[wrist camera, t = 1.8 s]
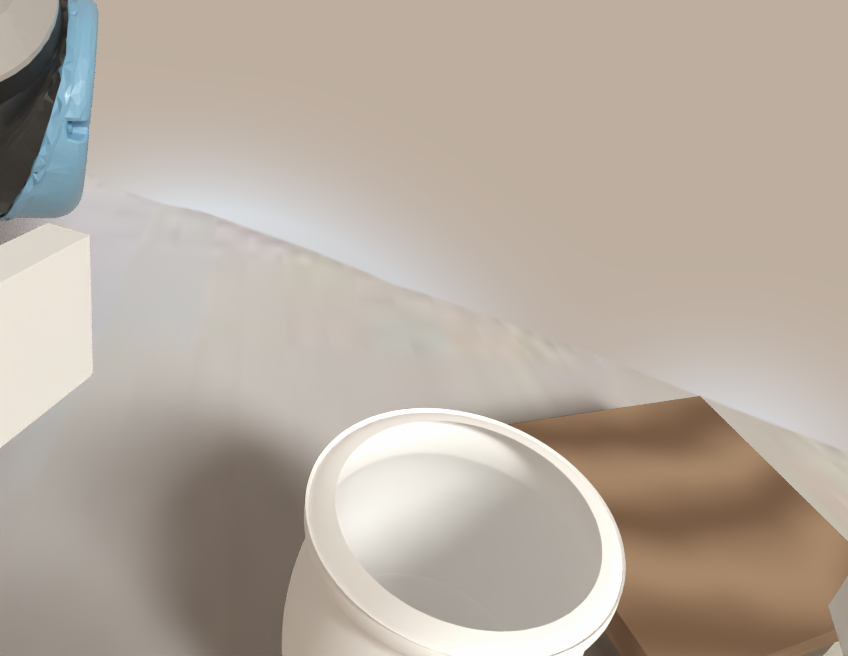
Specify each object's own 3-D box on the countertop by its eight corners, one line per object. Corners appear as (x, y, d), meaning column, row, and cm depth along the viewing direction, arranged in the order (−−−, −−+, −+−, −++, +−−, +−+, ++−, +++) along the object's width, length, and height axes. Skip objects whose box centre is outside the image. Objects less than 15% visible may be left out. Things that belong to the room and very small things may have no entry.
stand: (464, 500, 46) (490, 426, 42) (664, 461, 53) (699, 396, 49) (619, 764, 34) (671, 691, 31) (847, 669, 41) (909, 601, 38)
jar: (212, 822, 29) (245, 573, 21) (317, 607, 37) (369, 370, 29) (476, 938, 28) (621, 722, 19) (522, 688, 36) (636, 465, 28)
